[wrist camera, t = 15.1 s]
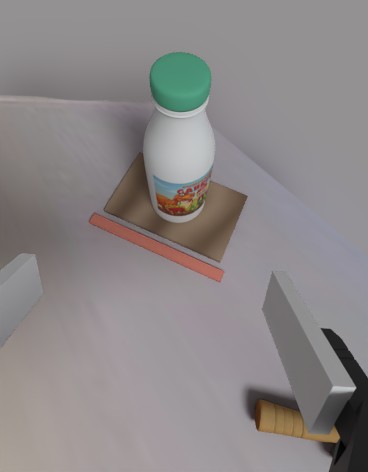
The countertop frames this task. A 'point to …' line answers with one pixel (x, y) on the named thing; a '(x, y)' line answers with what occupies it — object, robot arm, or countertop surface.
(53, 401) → the countertop surface
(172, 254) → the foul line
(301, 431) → the kendama
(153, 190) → the milk bottle
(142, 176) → the board
